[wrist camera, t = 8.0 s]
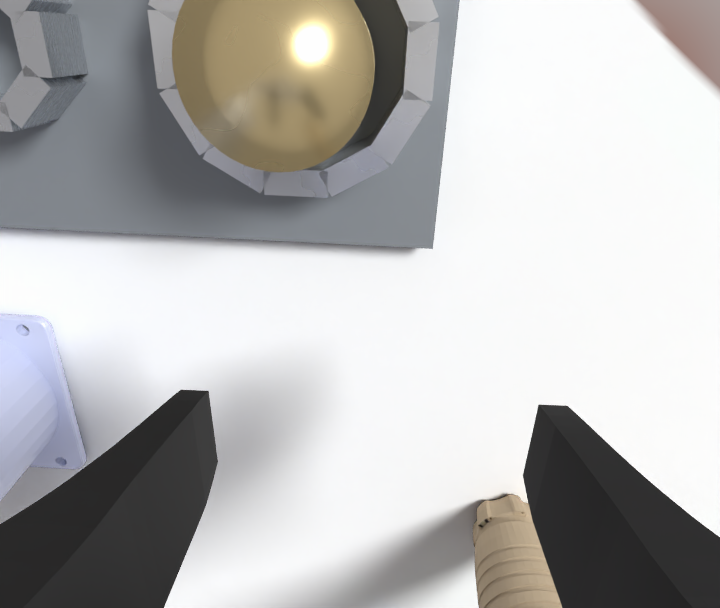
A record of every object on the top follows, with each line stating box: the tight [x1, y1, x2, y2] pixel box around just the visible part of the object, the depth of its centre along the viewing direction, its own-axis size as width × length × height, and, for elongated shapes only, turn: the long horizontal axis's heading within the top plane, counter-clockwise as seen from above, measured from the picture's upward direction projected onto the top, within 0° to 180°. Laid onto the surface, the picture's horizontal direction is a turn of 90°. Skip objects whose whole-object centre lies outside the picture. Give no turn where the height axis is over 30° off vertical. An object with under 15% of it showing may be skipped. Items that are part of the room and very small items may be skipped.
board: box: [0, 0, 460, 249], centre depth 16 cm, size 18×12×1 cm, turn 88°
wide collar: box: [147, 0, 440, 198], centre depth 15 cm, size 8×8×2 cm
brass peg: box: [172, 0, 375, 172], centre depth 14 cm, size 4×4×5 cm
